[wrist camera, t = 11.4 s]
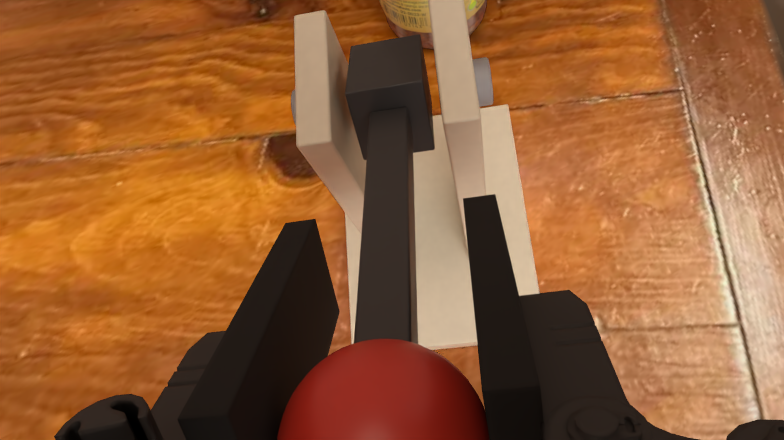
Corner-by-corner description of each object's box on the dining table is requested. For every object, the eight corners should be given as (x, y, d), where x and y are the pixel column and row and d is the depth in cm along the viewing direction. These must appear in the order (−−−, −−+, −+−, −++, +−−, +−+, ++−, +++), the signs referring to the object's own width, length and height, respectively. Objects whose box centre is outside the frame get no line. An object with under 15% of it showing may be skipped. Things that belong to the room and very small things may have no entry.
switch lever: (512, 596, 9) (499, 515, 7) (300, 604, 10) (217, 532, 7) (454, 111, 20) (440, 10, 17) (351, 127, 20) (323, 31, 18)
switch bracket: (544, 338, 27) (589, 248, 13) (357, 357, 28) (221, 292, 15) (507, 115, 31) (512, -130, 17) (346, 140, 32) (232, -70, 19)
